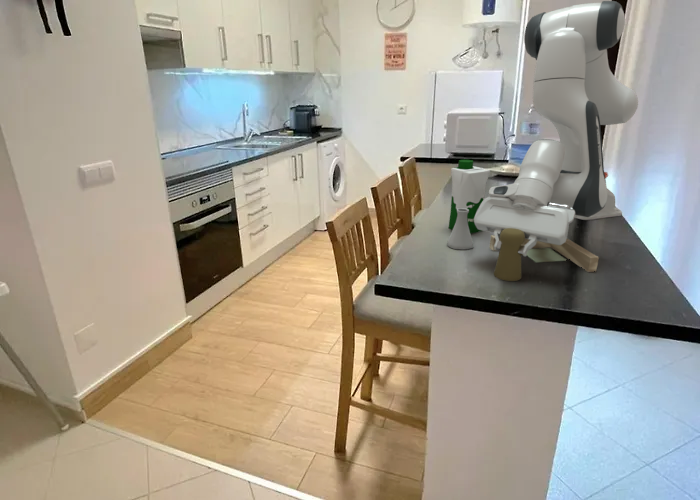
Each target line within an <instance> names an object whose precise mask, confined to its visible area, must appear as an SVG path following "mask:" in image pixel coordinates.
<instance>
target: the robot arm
mask: <svg viewBox="0 0 700 500" xmlns="http://www.w3.org/2000/svg"><path fill="white" fill-rule="evenodd" d="M625 25H626V16H625V13H624V10H623V6H622V5H621V3H619V2H617V0H616V1H614V0H603V1H601V2H589V3H581V4H573V5H571V6H567V7H562V8H559V9H555V10H552V11H548V12H545V11H544V12H541V13H538V14H536V15H534V16H532V17H531V18H530V19H529V21H528V22H527V24H526V25H525V31H524V35H523V36H524V37H523V39H524V40H523V41H524V42H523V43H524V47H525V51H526V53H527V54H528V55H529V56H530V57H531V58H534V59H535V69H534V75H533V83H532V104H533V106H534V108H535V111H537V113H538V114H539V115H540V116H542V117H543V118H545V119H547V120H549V121H550V122H551V124H552V125H554V127H555V129H556V131H557V133H558V136H559V141H558V140H556V139H538V140H536V141H535V140H534V142H532V144H531V145H530V146H529V148H528V150H527V152H526V153H525V154H524V157H523V159H522V162H521V163H520V166H519V170H518V177H517V178H516V179H515V180H514V182H513V183H510V184H505V185H497V186H496V185H495V186H491V187H490V188H489V190H488V196H487V197H484V200H483V201H482V203H481V205H480V206H479V208H478V210H477V212H476V214H475V217H474V223H475V225H476V227H477V229H478V230H483V231H482V232H489V233H493V235H495V239H496V242H495V245H494V249H495V251H498V252H500V248H501V244H502V243H501V241H500V240H499V238H500V234H501V232H502V230H504V229H506V228H515V229H519V230H521V231H523V232H524V234H525V239H529V242H528V243H527V244H526V245H525V246H522V245H521V246H520V249H519V251H518V253H519V254H520V255H521V257H527V252H528V250H530V249H533V248H532V247H534V246H535V245H536V243H537V241H540V242H545V243H550V244H555V245H562V244H563V243H565V242H566V239H568V234H569V233H568V232H569V228H570V226H569V225H570V224H571V223H573V222H574V219H579V220H583V221H589V220H590V221H591V220H598V219H604V218H606V219H607V218H611V217H620V216H622V215H623V212H622V210H621V209H619V208H618V207H616V196H615V194H614V192H612V191H611V190H610V189H609V188H608V187H607V181H606V179H607V178H608V176H609V173H608V172H607V171H605V166H604V156H603V152H604V151H603V141H602V140H603V139H602V138H603V137H602V130H601V126H610V125H611V126H612V125H618V124H619V125H620V124H621V125H622V124H625V123H627V122H628V121H630V120H631V119H632V118H633V116H634V115H635V114H636V113H637V109H638V105H639V99H638V95H637V93H636V91H635V90H634V89H633V88H631V87H628V86H627V85H625V84H624V83H622V82H621V81H619V80H618V78H617V77H616V76H615V75H614V74H613V72H612V71H611V69H610V65H609V59H608V49H609V48H610V49H611V48H612V47H614V46H615V45H616V44H617V43H618V42H619V41H620V38H621V36H622V34H623V32H624V30H625Z"/></svg>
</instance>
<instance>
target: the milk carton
mask: <svg viewBox="0 0 700 500" xmlns="http://www.w3.org/2000/svg"><path fill="white" fill-rule="evenodd" d="M450 170H451V180H452V181H451V183H452V184H451V187H452V188H451V202H450V213H449V220H448V227H447V228H448V229H449V230H451V231H452V230H453V228H454V226H455V223H456V220H457V215H458V212H457V209H459V208H466V209H468V210H469V213H468V214H467V221H468V227H469V231H470V234H471V235H472V234H476V233H480V232H484V231H483V230H478V229H477V227H476V225H475V223H474V217H475V214H476V212H477V210H478V208H479V206H480V205H481V203H482V201H483V200H484V199H485V198H486V197H485V196H486V186H487V182H488V179H489V177H490V173H491V170H490V169H485V168H483V167H479V166H474V160H473V159H459V160H458V166H457V167H452V168H451V169H450Z"/></svg>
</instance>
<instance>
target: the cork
mask: <svg viewBox="0 0 700 500" xmlns="http://www.w3.org/2000/svg"><path fill="white" fill-rule="evenodd" d="M524 240H525V234H524V232H523V231H521V230H519V229H515V228H506V229H504V230H502V232H501V234H500V241H501V243H502V244H501V248H500V251H498V252H499V253H498V257H497V260H496V264H495V268H494V271H493V276H494V278H497V279H499V280H502V281H505V282H507V281H508V282H514V281H515V282H516V281H519V280H521V279H522V256H521V255H520V254H519V253H518V251H519V249H520V246H521V245H522V244H523V243H524Z"/></svg>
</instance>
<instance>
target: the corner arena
mask: <svg viewBox="0 0 700 500" xmlns="http://www.w3.org/2000/svg"><path fill="white" fill-rule="evenodd" d="M499 240H500V238H499ZM495 242H496V239H495V235H494V234H493V235H492V234H491V235H490V241H489V249H490V250H491V251H494V252H495V251H496V250H495V249H494V245H495ZM528 242H529V239H525V240H524V243H523V244H522V246H525V245H526V244H527V243H528ZM554 250H555V251H554ZM561 255H562V256H561ZM526 257H527V258H529V259H530V260H532V261H533V262H534V263H546V262H547V263H548V262H549V263H550V262H567V261H566V260H567V259H568V260H569V259H570V260H569V261H571V262H573V263H574V264H575V265H577V266H578V267H580V268H581V267H582V268H581V269H582V270H584V269H585V270H584V271H586V272H587V273H589V272H590V273H593V272H594V271H595V272H597V268H598V264H599V259H600V257H599V256H597V255H596V254H594V253H593V252H592V251H589V250H587V249H586V248H584V247H582V246H581V245H579V244H577V243H576V242H574V241H572V240H570V239H569V238H567V239H566V242H565V243H563V244H562V245H555V244H550V243H545V242H540V241H537V243H536V245H535V246H534V247H532V248H531V249H530V250H528V252H527V255H526Z"/></svg>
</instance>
